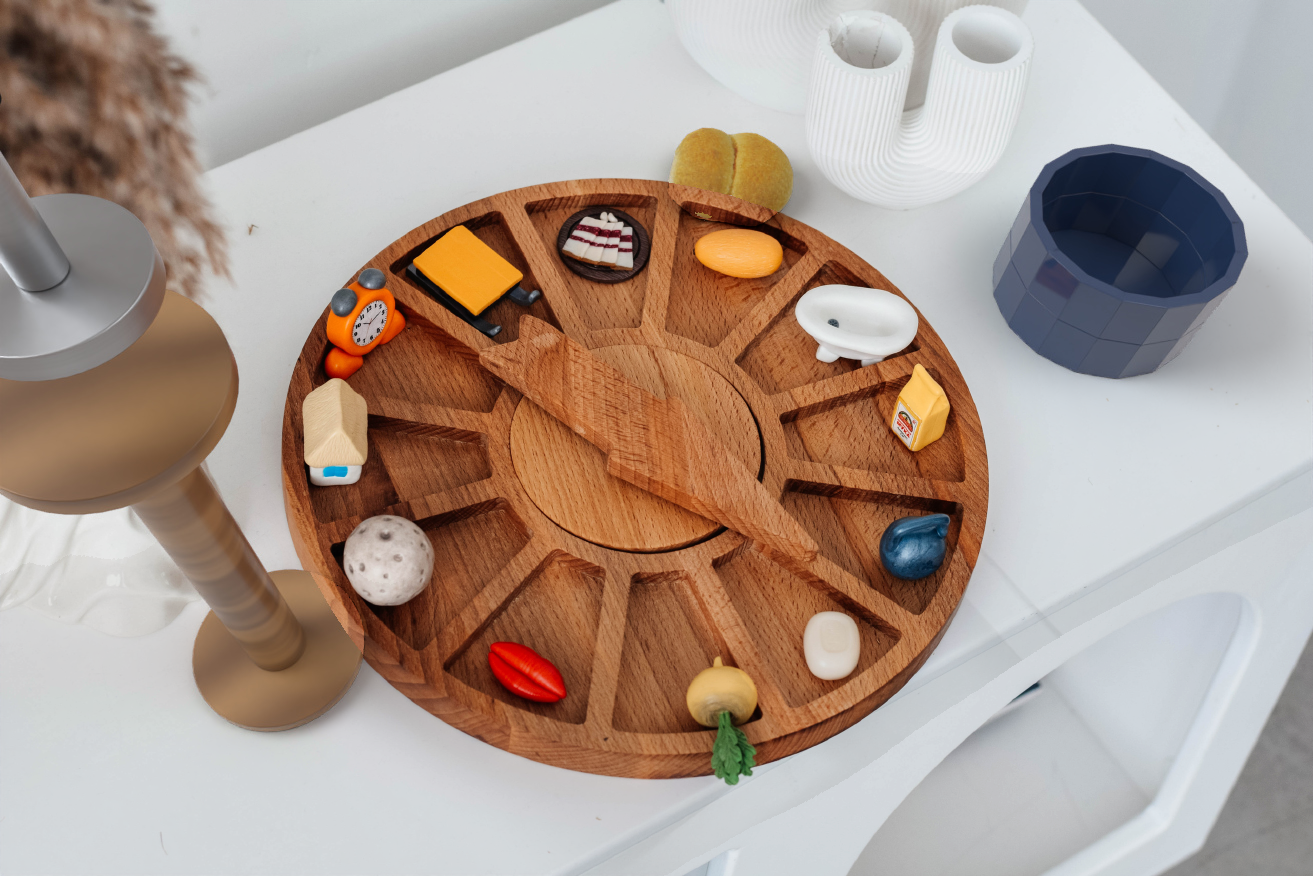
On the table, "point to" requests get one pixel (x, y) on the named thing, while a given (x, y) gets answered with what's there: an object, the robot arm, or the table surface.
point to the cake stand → (180, 510)
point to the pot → (1117, 260)
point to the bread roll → (734, 167)
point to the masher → (71, 281)
